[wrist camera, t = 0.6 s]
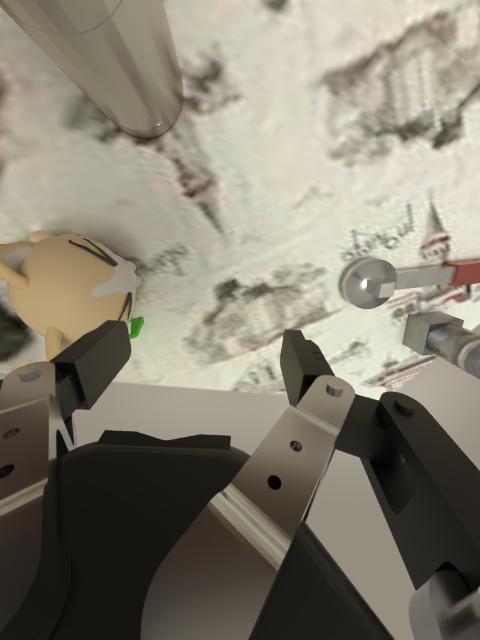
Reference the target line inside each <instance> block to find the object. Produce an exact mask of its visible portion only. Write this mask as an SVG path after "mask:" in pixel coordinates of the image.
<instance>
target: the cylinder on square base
mask: <svg viewBox="0 0 480 640" xmlns="http://www.w3.org/2000/svg"><path fill="white" fill-rule="evenodd" d="M463 322H464V320H461V319H458V318H456V317H453V316H450V315H447V314H444V313H442V312H432V313H423V314H415V315H408V320H407V325H406V330H405V335H404V340H403V344H404V345H406V346H407V347H409V348H411V349H412V350H414V351H416V352H417V353H419V354H421V355H422V356H424V355H432V354H436V355H438V356H439V357H441V358H443V359H445V360H446V361H448V362H450V363H452V364H454V365H455V366H457V367H459V368H460V369H462V370H463V371H465V372H467V373H469V374H471V375H473V376H475V377H477V378H478V379H480V334H478V333H476V332H473V331H470V330H468V329H465V328H463V327H462V325H463Z"/></svg>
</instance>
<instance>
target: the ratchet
mask: <svg viewBox="0 0 480 640" xmlns="http://www.w3.org/2000/svg"><path fill="white" fill-rule="evenodd" d="M476 283H480V259H475V260H466V261H457V262H447V263H444V265H438V266H429V267H420V268H411V269H402V270H395V269H394V267H393V266H392V265H391V264H390V263H389V262H387V261H384V260H380V259H374V258H361V259H358V260H356V261H354V262H353V263H351V264H350V265H349V266H348V267H347V268H346V269H345V271H344V272H343V274H342V276H341V279H340V283H339V288H340V293H341V295H342V297H343V298H344V299H345V300H346V301H348V302H349V303H351V304H353V305H355V306H357V307H359V308H362V309H372V308H376V307H378V306H380V305H382V304H383V303H385V302H386V301H387V300H388V299H389V298H390V297H392V296H393V294H394V290H398V289H407V288H416V287H425V286H433V285H442V284H448V285H452V286H458V285H467V284H476Z"/></svg>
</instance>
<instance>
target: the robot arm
mask: <svg viewBox="0 0 480 640" xmlns="http://www.w3.org/2000/svg"><path fill="white" fill-rule="evenodd" d="M0 6H1V7H2V8H3V9H4V11H5V12H6V13H7V14H8V15H9V16H10V17H11V18H12V19H13V20H14V21H15V22H16V23H17V24H18V25H19V26H20V27H21V28H22V29H23V30H24V31H25V32H26V33H27V34H28V35H29V36H30V37H31V38H32V39H33V40H34V41H35V42H36V43H37V45H38V46H39V47H40V48H41V49H42V50H43V51H44V52H45V53H46V54H47V55H48V56H49V57H50V58H51V59H52V60H53V61H54V62H55V63H56V64H57V65H58V66H59V67H60V68H61V69H62V70H63V71H64V72H65V73H66V74H67V75H68V76H69V77H70V79H71V80H72V81H73V82H74V83H75V84H76V85H77V86H78V87H79V88H80V89H81V90H82V91H83V92H84V93H85V94H86V95H87V96H88V97H89V98H90V99H91V100H92V101H93V102H94V103H95V104H96V105H97V106H98V108H99V109H100V110H101V111H102V112H103V113H104V114H105V115H106V116H107V117H108V118H109V119H110V120H111V121H112V122H113V123H114V124H115V125H116V126H118V127H119V128H120V129H121V130H123V131H124V132H126V133H128V134H130V135H132V136H136V137H139V138H153V137H157V136H159V135H161V134H163V133H165V132H166V131H167V130H168V129H170V128H171V127H172V125H173V124H174V122H175V121H176V119H177V118H178V115H179V113H180V110H181V106H182V100H183V83H182V77H181V72H180V68H179V64H178V60H177V56H176V52H175V48H174V44H173V40H172V36H171V32H170V28H169V24H168V20H167V16H166V12H165V8H164V4H163V0H0ZM130 355H131V344H130V339H129V333H128V328H127V324H126V322H125V321H120V320H107V321H105V322H104V323H103V324H101V325H100V326H99V327H98V328H96V329H95V330H92V331H90V332H88V333H86V334H84V335H83V336H81V337H80V338H79V339H78V340H77V341H75V342H74V343H72V344H71V346H68V347H67V348H66V349H64V350H63V351H62V352H61V353H59V354H58V355H57V356H55V357H54V358H53V359H51V360H50V361H49V362H44V361H43V362H35V363H31V364H27V365H24V366H22V367H19V368H17V369H15V370H13V371H12V372H10V373H9V374H8V375H7V376H6V377H5V378H4V379H3V380H0V640H395V639H394V638H393V636H392V635H391V634H390V632H389V631H388V630H387V629H386V627H385V626H384V625H383V623H382V622H381V621H380V619H379V618H378V617H377V616H376V614H375V613H374V612H373V610H372V609H371V608H370V606H369V605H368V604H367V602H366V601H365V600H364V598H363V597H362V596H361V595H360V593H359V592H358V591H357V589H356V588H355V587H354V585H353V584H352V583H351V582H350V580H349V579H348V578H347V576H346V575H345V574H344V572H343V571H342V570H341V568H340V567H339V566H338V564H337V563H336V562H335V560H334V559H333V558H332V557H331V555H330V554H329V553H328V551H327V550H326V549H325V547H324V546H323V545H322V543H321V542H320V541H319V540H318V538H317V537H316V536H315V534H314V533H313V532H312V530H311V529H310V528H309V526H308V525H307V524H306V522H307V519H308V517H309V514H310V512H311V509H312V506H313V504H314V502H315V499H316V496H317V493H318V491H319V489H320V486H321V484H322V481H323V479H324V476H325V474H326V471H327V469H328V467H329V464H330V462H331V459H332V457H333V454H334V452H335V450H336V449H337V450H340V451H343V452H346V453H348V454H351V455H354V456H357V457H360V459H361V461H362V464H363V466H364V469H365V471H366V474H367V476H368V478H369V481H370V483H371V485H372V488H373V490H374V493H375V495H376V497H377V500H378V502H379V504H380V507H381V509H382V511H383V514H384V516H385V518H386V521H387V523H388V526H389V528H390V531H391V533H392V535H393V537H394V540H395V542H396V545H397V547H398V549H399V552H400V554H401V557H402V559H403V561H404V564H405V566H406V569H407V571H408V573H409V576H410V578H411V580H412V583H413V585H414V587H415V590H416V592H415V593H414V594H413V595H412V597H411V599H410V602H409V620H410V625H411V628H412V632H413V636H414V639H415V640H480V471H479V470H478V468H477V467H476V466H475V465H474V464H473V463H472V462H471V460H470V459H469V458H468V457H467V456H466V455H465V453H464V452H463V451H462V450H461V449H460V448H459V447H458V445H457V444H456V443H455V442H454V441H453V440H452V438H451V437H450V436H449V435H448V434H447V433H446V431H445V430H444V429H443V428H442V427H441V426H440V425H439V423H438V422H437V421H436V420H435V419H434V418H433V416H432V415H431V414H430V413H429V412H428V411H427V410H426V408H425V407H424V406H423V405H421V404H420V403H419V402H417V401H416V400H414V399H413V398H411V397H409V396H407V395H404V394H402V393H398V392H385V393H383V394H382V395H381V397H380V399H379V400H375V399H371V398H367V397H364V396H360V395H357V394H355V391H354V389H353V387H352V386H351V385H350V384H349V383H347V382H346V381H344V380H343V379H341V378H338V377H335V375H334V373H333V371H332V370H331V368H330V366H329V364H328V363H327V361H326V359H325V357H324V356H323V354H322V352H321V350H320V349H319V347H318V346H317V345H316V344H315V343H314V342H312V341H311V340H305V338H304V336H303V334H302V332H301V330H289V329H286V330H285V331H284V336H283V343H282V349H281V355H280V366H281V371H282V375H283V379H284V383H285V387H286V391H287V395H288V399H289V403H290V406H289V407H288V408H287V409H286V411H285V412H284V413H283V415H282V416H281V417H280V419H279V420H278V421H277V423H276V424H275V425H274V426H273V428H272V429H271V430H270V432H269V433H268V434H267V436H266V437H265V438H264V440H263V441H262V442H261V444H260V445H259V446H258V447H257V449H256V450H255V451H254V453H253V454H252V455H251V456H250V455H248V454H247V453H245V452H244V451H242V450H239V449H237V448H235V447H232V446H230V441H231V436H224V435H202V434H200V435H195V436H189V437H184V438H178V439H173V440H161V439H158V438H155V437H151V436H148V435H145V434H142V433H139V432H134V431H133V432H132V431H112V430H105V431H104V433H103V434H102V436H101V437H100V439H99V441H98V442H93V443H89V444H86V445H83V446H81V447H78V448H77V438H76V429H75V420H74V416H73V412H74V411H75V410H76V409H85V410H90V409H91V407H92V406H93V405H94V404H95V402H96V401H97V400H98V398H99V397H100V396H101V395H102V393H103V392H104V391H105V389H106V388H107V387H108V385H109V384H110V383H111V382H112V380H113V379H114V378H115V377H116V375H117V374H118V373H119V371H120V370H121V369H122V368H123V366H124V365H125V364H126V362H127V361H128V360H129V358H130Z"/></svg>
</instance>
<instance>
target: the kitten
mask: <svg viewBox="0 0 480 640" xmlns="http://www.w3.org/2000/svg"><path fill="white" fill-rule="evenodd" d="M136 269H137V267H136V265H135V264H134V263H132V262H130V261H126V260H124V259H123V258H122V257H120V256H118V255H115V254H114V253H113V252H112V251H111V250H110V249H108V248H107V247H106V246H104V245H103V244H102V243H100V242H98V241H97V240H95V239H92V238H90V237H87V236H83V235H78V234H65V235H58V236H53V235H51V234H49V233H47V232H43V231H36V232H33V233H32V234H31V235H30V242H27V241H24V242H17V243H10V244H0V278H1V279H2V280H4V281H5V282H7V289H8V295H9V299H10V301H11V304H12V306H13V308H14V310H15V311H16V313H17V314H18V316H19V317H20V318H21V319H22V320H23V321H24V322H25V323H26V324H27V325H28V326H29V327H30V328H31V329H33V330H34V331H36V332H37V333H39V334H41V335H43V336H45V347H46V357H47V362H49V361H50V360H51V359H53V358H54V357H55V356H57V355H58V354H59V353H61V352H62V351H63V350H64V349H66V348H67V347H68V346H71V344H72V343H74V342H75V341H77V340H78V339H79V338H80V337H81V336H83V335H84V334H86V333H88V332H90V331H92V330H95V329H96V328H98V327H99V326H100V325H101V324H103V323H104V322H105V321H107V320H120V321H125V322H126V324H128V323H129V322H130V321H131V319H132V318H131V317H132V315H133V312H134V309H135V302H136V291H137V288H138V287H139V285H140V284H141V277H140V276H139V275H136V274H135V271H136ZM143 323H144V321H143V317H140V318H137V319H134V320H132V324H131V333H130V335H129V339H132V338H135V337H137V336H138V334H139V332H140V329H141V326H142V324H143Z"/></svg>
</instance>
